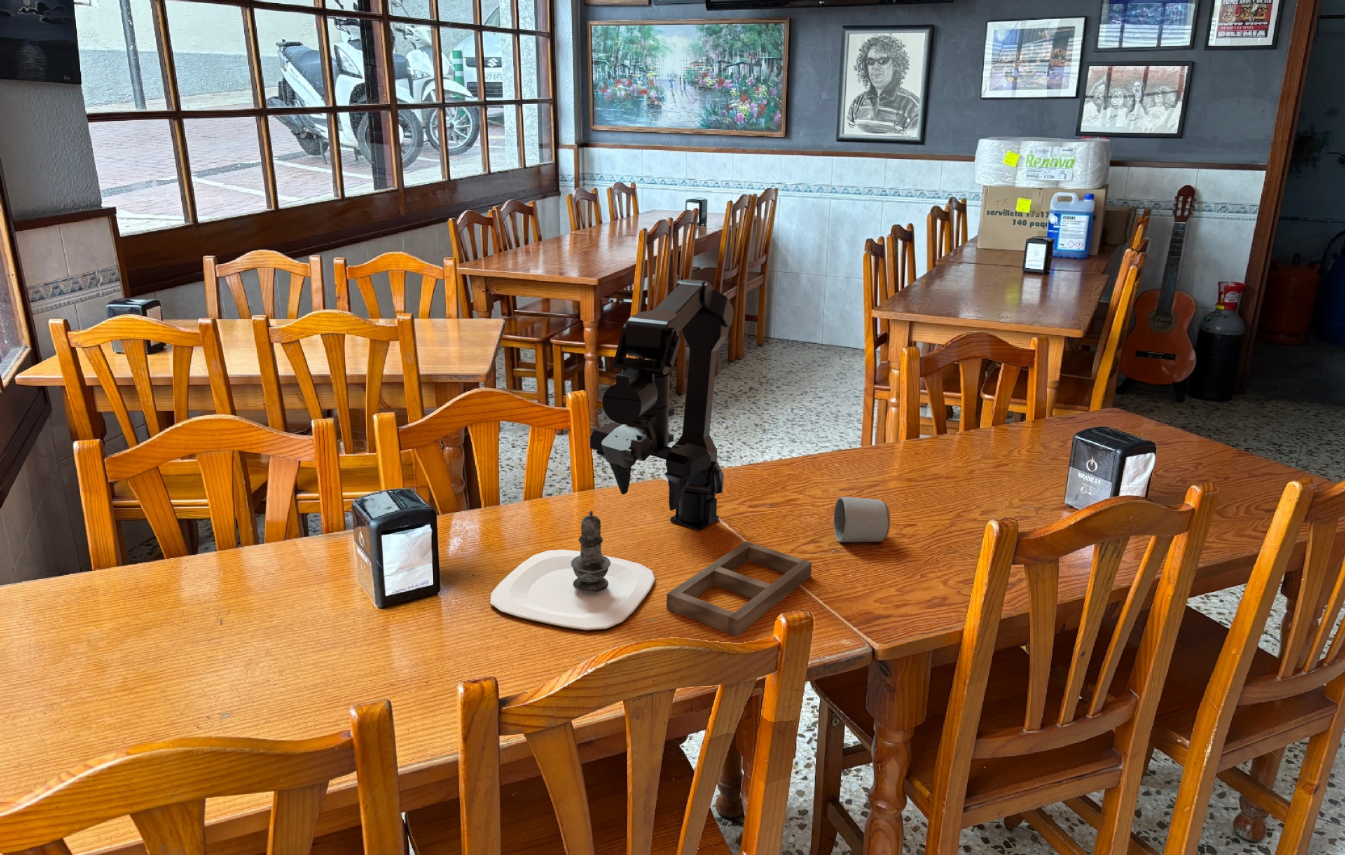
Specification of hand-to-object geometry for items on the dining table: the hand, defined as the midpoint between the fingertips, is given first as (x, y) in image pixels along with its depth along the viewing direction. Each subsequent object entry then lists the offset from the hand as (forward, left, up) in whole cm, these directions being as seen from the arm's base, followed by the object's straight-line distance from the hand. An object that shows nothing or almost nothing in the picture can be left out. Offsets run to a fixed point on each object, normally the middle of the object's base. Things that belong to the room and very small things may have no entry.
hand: (648, 501), depth 138 cm
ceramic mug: (+20, +34, -13) cm, 41 cm away
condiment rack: (+14, +5, -13) cm, 20 cm away
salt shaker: (-4, -9, -12) cm, 15 cm away
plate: (-6, -10, -14) cm, 18 cm away
